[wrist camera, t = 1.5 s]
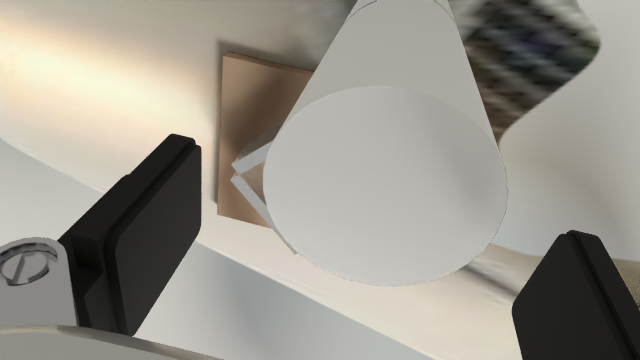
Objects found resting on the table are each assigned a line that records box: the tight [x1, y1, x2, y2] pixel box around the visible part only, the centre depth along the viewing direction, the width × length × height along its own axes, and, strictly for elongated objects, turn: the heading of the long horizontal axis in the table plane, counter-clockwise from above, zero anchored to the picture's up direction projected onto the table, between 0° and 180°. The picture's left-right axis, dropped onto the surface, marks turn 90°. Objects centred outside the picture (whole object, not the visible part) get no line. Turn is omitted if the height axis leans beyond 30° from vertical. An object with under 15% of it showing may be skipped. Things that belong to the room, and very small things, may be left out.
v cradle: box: [217, 52, 314, 254], centre depth 40 cm, size 20×18×5 cm
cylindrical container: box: [263, 0, 508, 286], centre depth 23 cm, size 7×7×25 cm
